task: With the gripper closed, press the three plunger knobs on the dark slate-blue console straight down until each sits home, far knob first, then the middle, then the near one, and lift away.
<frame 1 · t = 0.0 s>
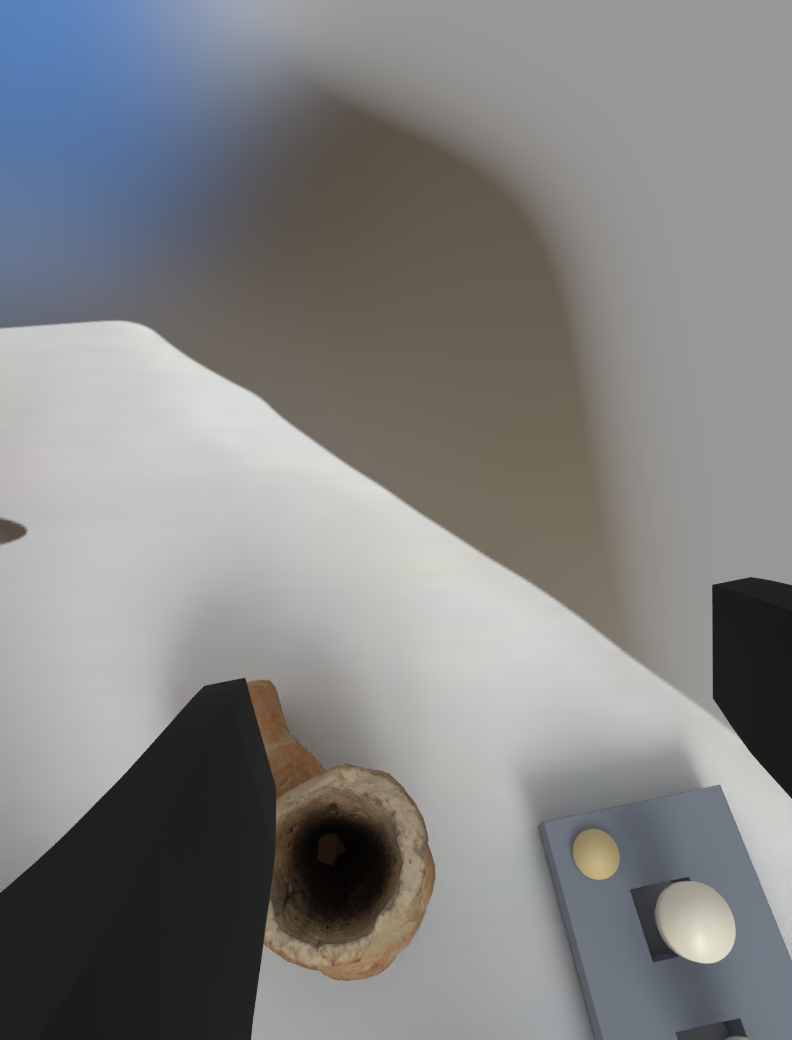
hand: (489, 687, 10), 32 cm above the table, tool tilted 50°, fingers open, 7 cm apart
console: (691, 1019, 33), on the table
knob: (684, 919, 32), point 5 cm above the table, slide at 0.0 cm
pipe: (312, 825, 39), on the table
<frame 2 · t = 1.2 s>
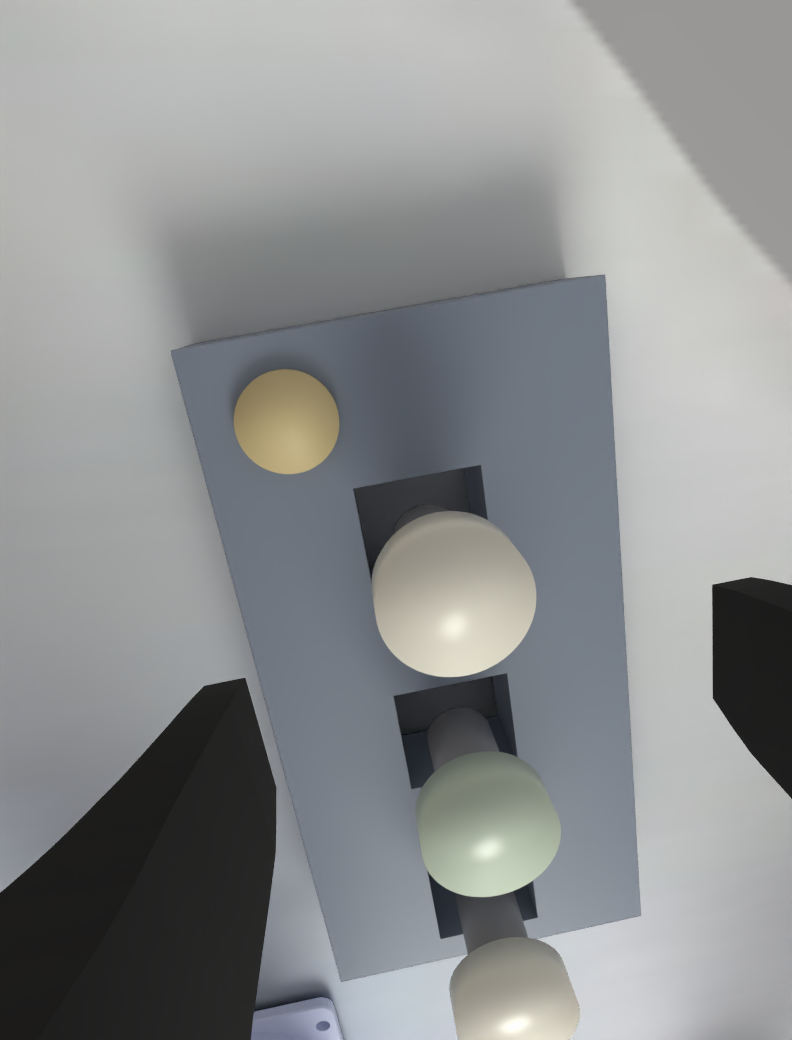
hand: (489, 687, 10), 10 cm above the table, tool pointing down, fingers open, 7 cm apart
console: (436, 643, 20), on the table
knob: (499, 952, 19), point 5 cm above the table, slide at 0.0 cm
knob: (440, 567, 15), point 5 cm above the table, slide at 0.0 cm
knob middle: (473, 782, 17), point 5 cm above the table, slide at 0.0 cm
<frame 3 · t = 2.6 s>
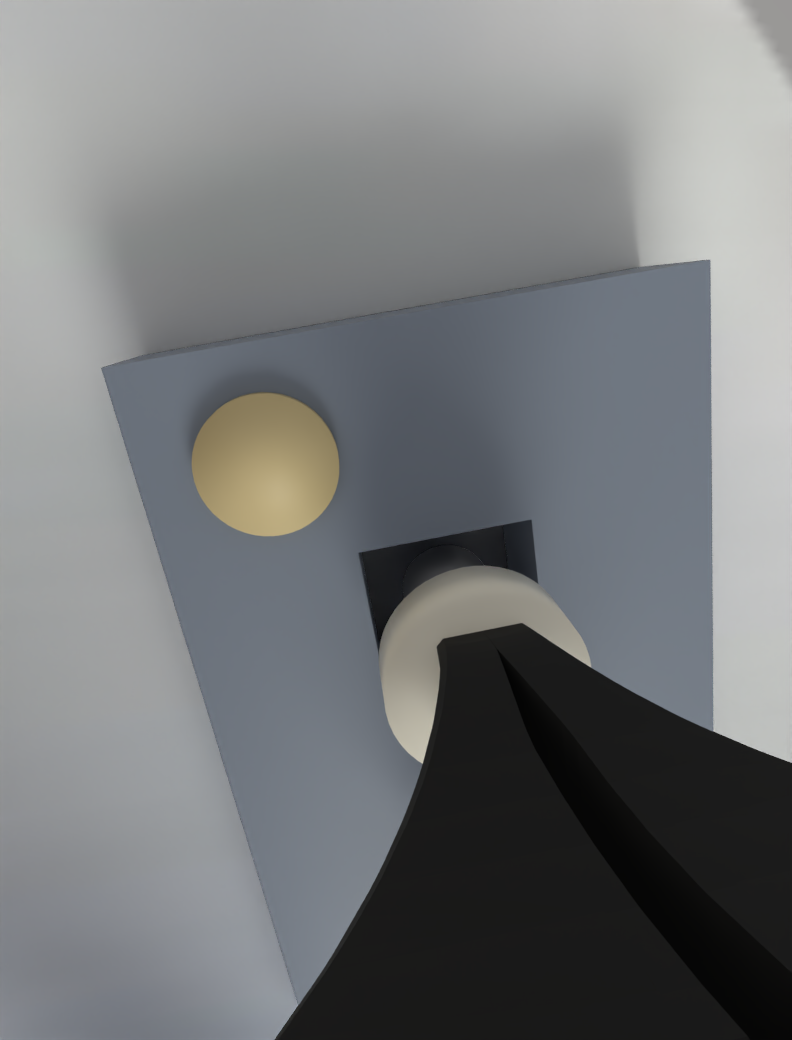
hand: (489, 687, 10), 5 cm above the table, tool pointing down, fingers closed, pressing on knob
console: (462, 729, 16), on the table
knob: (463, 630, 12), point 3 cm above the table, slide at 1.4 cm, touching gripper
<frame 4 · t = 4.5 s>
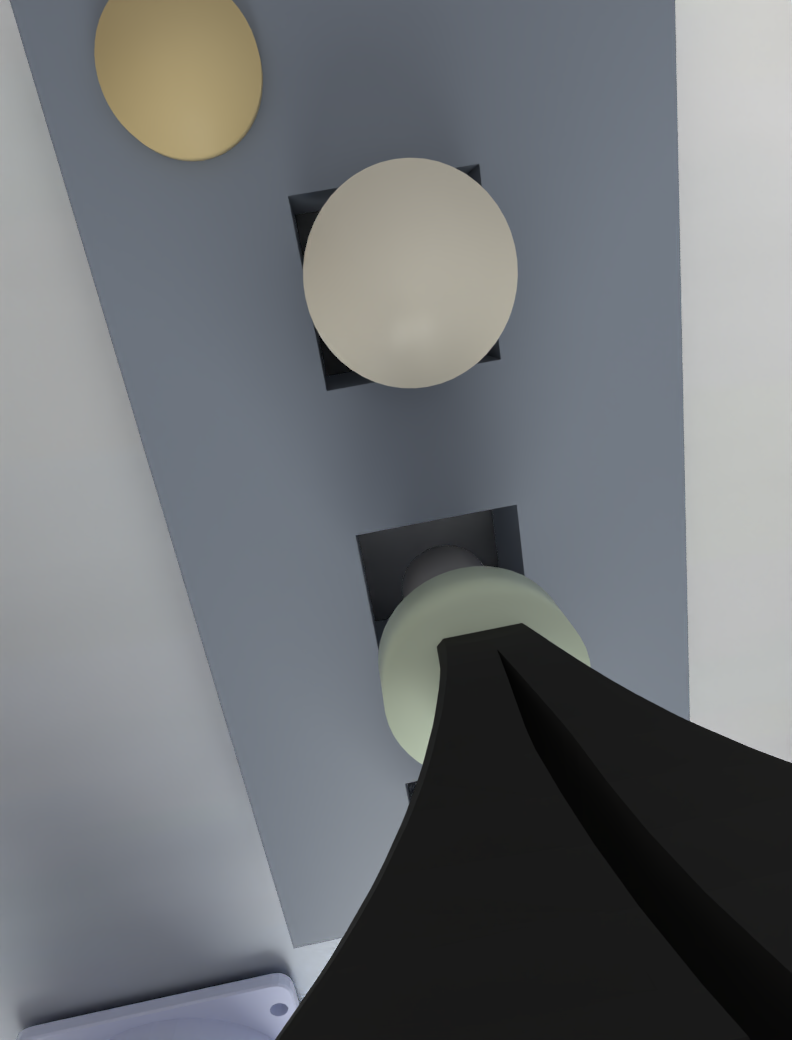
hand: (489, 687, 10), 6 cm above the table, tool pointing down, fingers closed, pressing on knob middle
console: (419, 489, 15), on the table
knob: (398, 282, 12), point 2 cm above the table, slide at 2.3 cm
knob middle: (463, 630, 12), point 4 cm above the table, slide at 0.5 cm, touching gripper
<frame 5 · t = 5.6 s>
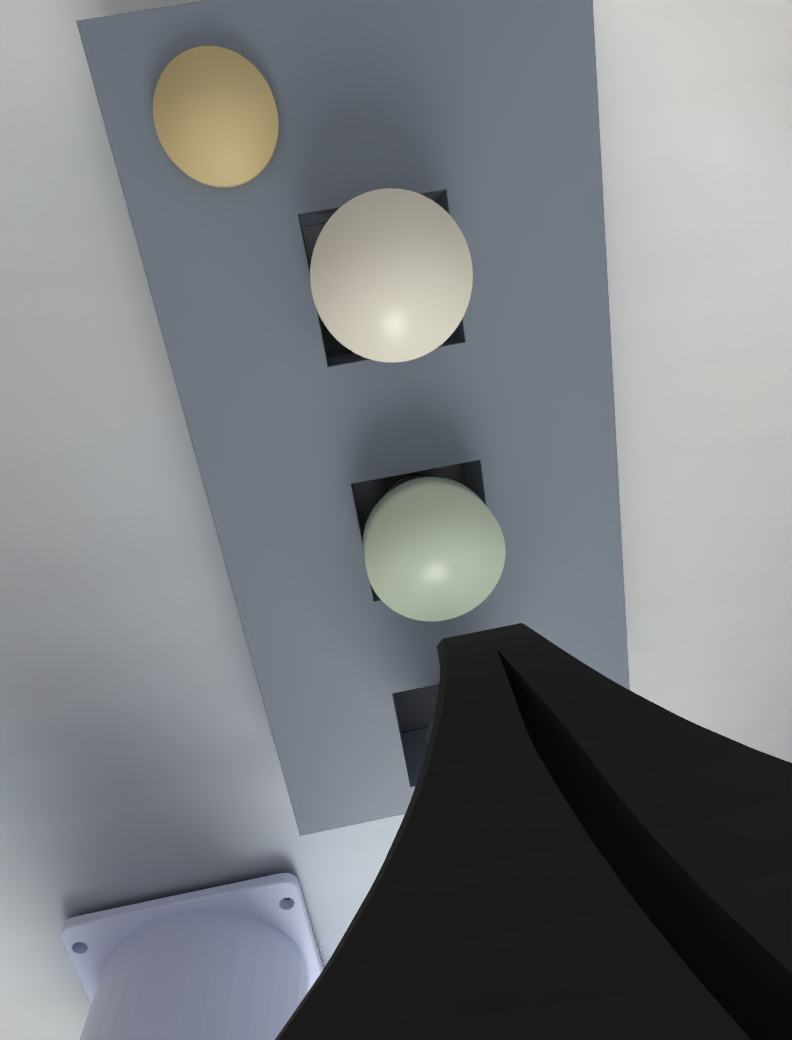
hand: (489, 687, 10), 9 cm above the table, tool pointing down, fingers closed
console: (404, 452, 18), on the table
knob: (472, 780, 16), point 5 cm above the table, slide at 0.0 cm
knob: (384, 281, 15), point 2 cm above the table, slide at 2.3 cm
knob middle: (424, 529, 17), point 2 cm above the table, slide at 2.3 cm
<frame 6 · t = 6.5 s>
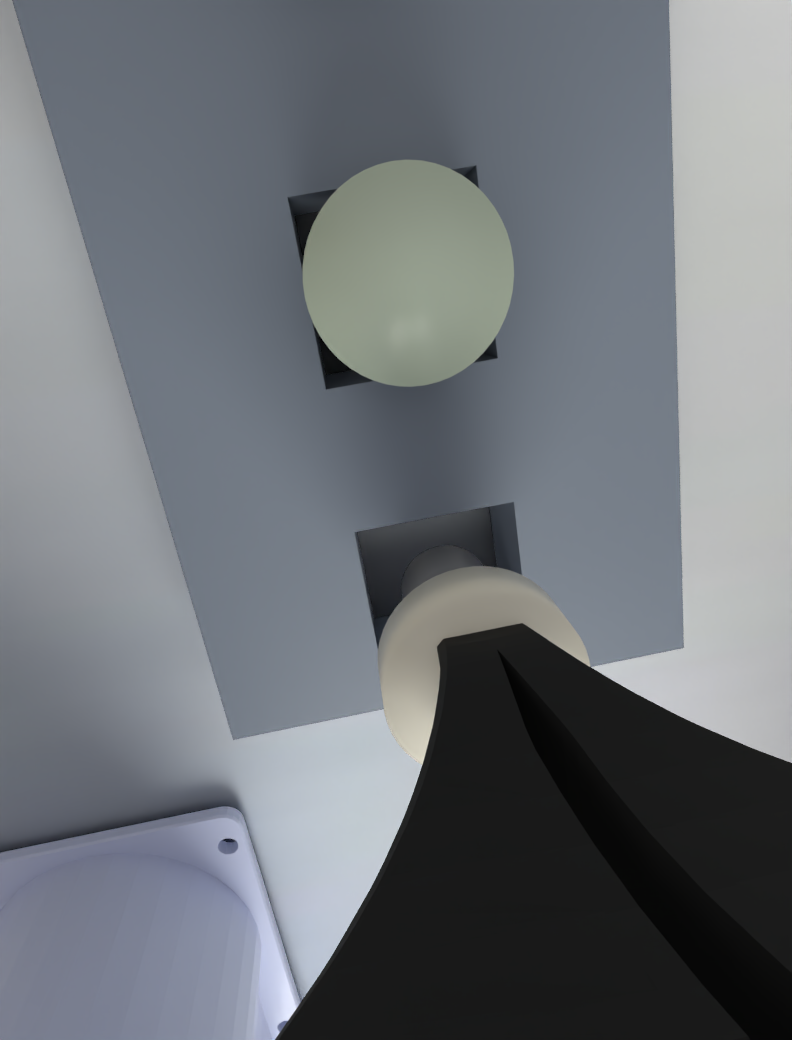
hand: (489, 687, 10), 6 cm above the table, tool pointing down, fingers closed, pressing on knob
console: (373, 207, 13), on the table
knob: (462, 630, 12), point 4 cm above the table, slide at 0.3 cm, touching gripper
knob middle: (396, 282, 12), point 2 cm above the table, slide at 2.3 cm
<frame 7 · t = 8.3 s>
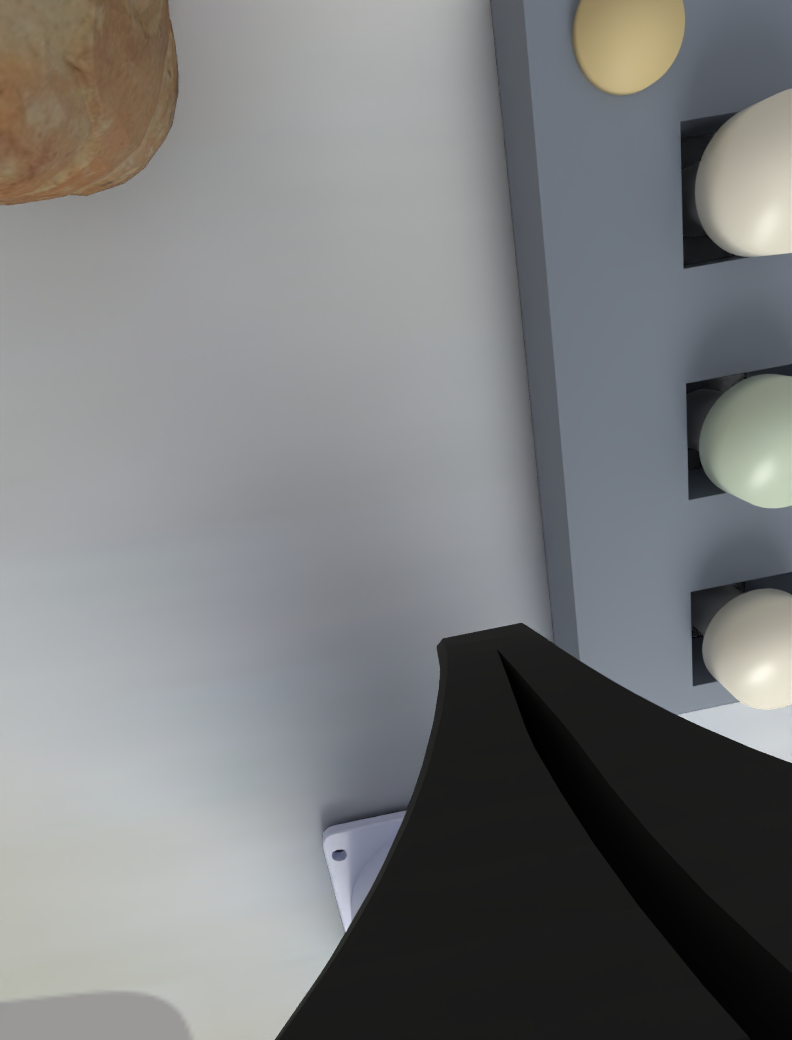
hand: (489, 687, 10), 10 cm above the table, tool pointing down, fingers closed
console: (694, 367, 19), on the table
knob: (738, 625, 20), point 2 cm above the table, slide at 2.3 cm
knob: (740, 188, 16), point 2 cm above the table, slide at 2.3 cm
knob middle: (739, 430, 18), point 2 cm above the table, slide at 2.3 cm
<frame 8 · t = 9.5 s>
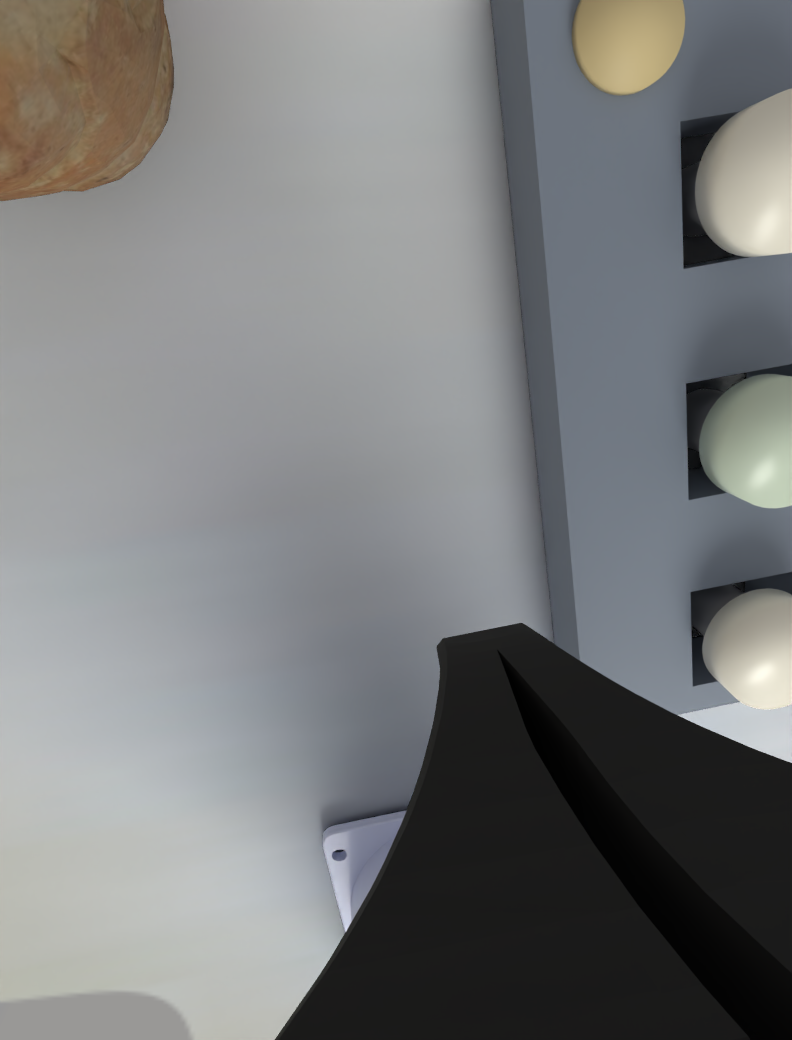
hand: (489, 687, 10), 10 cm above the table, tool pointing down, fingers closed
console: (694, 367, 19), on the table
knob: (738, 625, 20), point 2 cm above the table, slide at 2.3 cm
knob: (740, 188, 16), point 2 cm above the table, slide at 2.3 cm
knob middle: (739, 430, 18), point 2 cm above the table, slide at 2.3 cm
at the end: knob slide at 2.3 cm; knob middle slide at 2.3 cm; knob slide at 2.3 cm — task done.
